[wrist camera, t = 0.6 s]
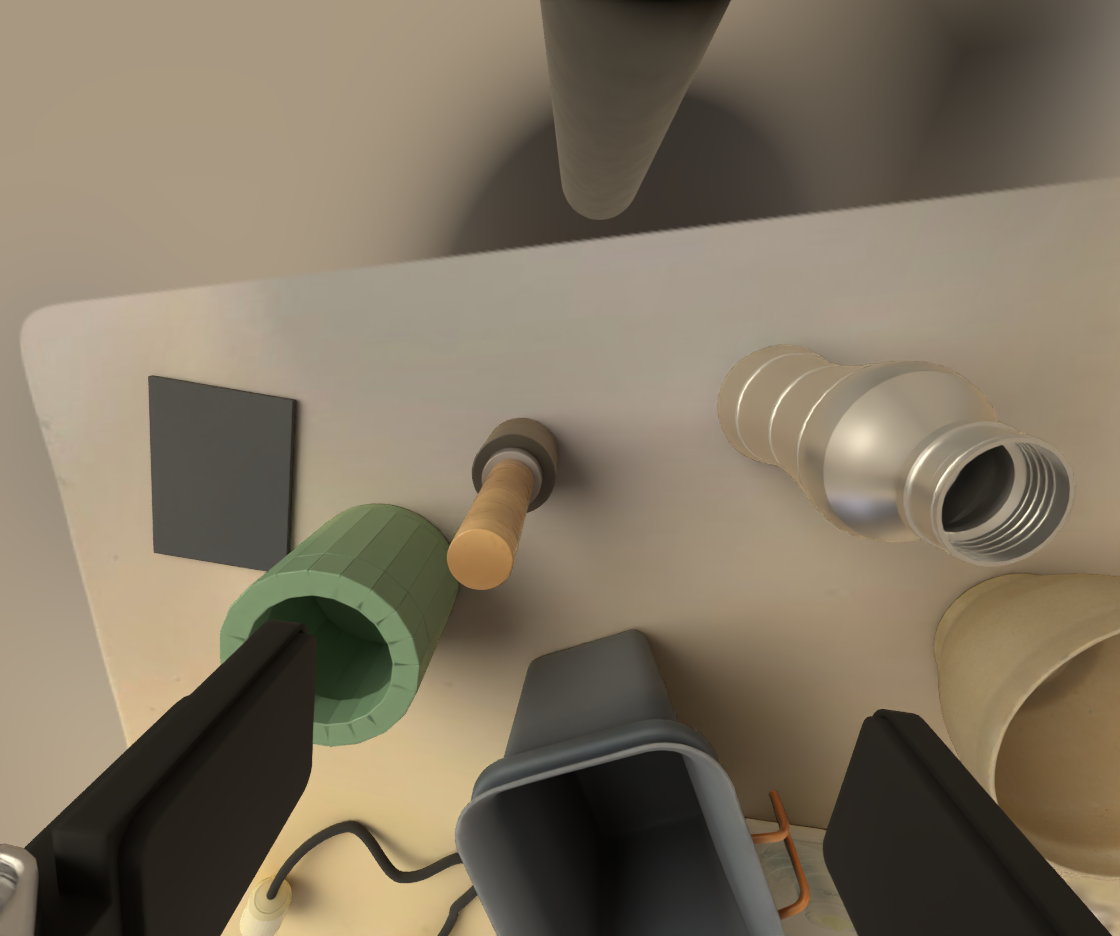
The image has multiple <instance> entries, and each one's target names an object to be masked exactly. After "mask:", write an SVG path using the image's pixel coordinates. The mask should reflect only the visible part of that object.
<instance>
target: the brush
mask: <svg viewBox="0 0 1120 936" xmlns="http://www.w3.org/2000/svg"><path fill="white" fill-rule="evenodd" d="M557 462H558V448H557V444H556V441H555V439H554V437H553V435H552V434H551V432H550V431H549V430H548V429H547V428H546V427H545V426H543V425H542V424H541V423H539V422H537V421H534V420H531V419H527V418H516V419H511V420H508V421H506V422H504V423H502V424H500V425H499V426H498V427H497V428H496V429H495V430H494V431H493V432H492V434H491V435H490V436H489V438H488V439H487V441H486V442H485V443H484V445H483V446H482V448H481V449H480V450H479V452H478V453H477V455H476V457H475V460H474V462H473V467H472V479H473V484H474V487H475V489H476V491H477V493H478V495H477V497H476V499H475V501H474V502H473V504H472V506H471V508H470V510H469V512H468V513H467V515H466V517H465V519H464V521H463V522H462V524H461V526H460V528H459V530H458V532H457V533H456V535H455V537H454V539H453V541H452V542H451V544H450V546H449V549H448V553H447V562H448V566H449V569H450V571H451V573H452V575H453V576H454V577H455V578H456V579H457V580H458V581H459V582H460V583H461V584H463V585H465V586H467V587H469V588H472V589H477V590H487V589H491V588H494V587H497V586H498V585H500V584H502V583H503V582H504V581H505V580H506V579H507V578H508V576H509V575H510V573H511V571H512V568H513V564H514V560H515V556H516V552H517V548H518V544H519V540H520V536H521V532H522V528H523V524H524V521H525V517H526V513H528V512H530V511H533V510H535V509H537V508H538V507H540V506H541V505H542V504H543V503H544V502H545V501H546V500H547V499H548V497H549V496H550V494H551V492H552V490H553V487H554V483H555V477H556V469H557Z"/></svg>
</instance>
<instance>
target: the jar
mask: <svg viewBox="0 0 1120 936" xmlns="http://www.w3.org/2000/svg"><path fill="white" fill-rule="evenodd" d="M448 549H449V544H448V542H447V541H446V539H445V538H444V536H443V535H442V534H441V533H440V532H439V531H438V530H437V529H436V527H434V526H433V525H432V524H431V523H430V522H428V521H427V520H426V519H424V518H423V517H421V516H420V515H418V514H416V513H414V512H412V511H409V510H407V509H404V508H401V507H397V506H393V505H386V504H368V505H361V506H357V507H354V508H351V509H348V510H346V511H344V512H342V513H340V514H339V515H337V516H335V517H334V518H333V519H332V520H330V521H328V522H327V523H325V524H324V525H323V526H322V527H321V528H319V529H318V530H317V531H316V532H315V533H313V534H312V535H311V536H310V537H308V538H307V539H306V540H305V541H304V542H302V543H301V544H300V545H299V546H298V547H296V548H295V549H294V550H293V551H292V552H290V553H289V554H288V555H287V556H286V557H284V558H283V559H282V560H281V561H280V562H278V563H277V564H276V565H275V566H274V567H272V568H271V569H270V570H269V571H268V572H266V573H265V574H264V575H263V576H262V577H260V578H259V579H258V580H257V581H256V582H254V583H253V584H252V585H251V586H250V587H248V588H247V590H246V591H245V592H244V593H243V594H242V595H241V596H240V597H239V598H238V599H237V600H236V601H235V602H234V603H233V604H232V605H231V607H230V608H229V611H228V613H227V616H226V618H225V621H224V623H223V626H222V628H221V631H220V632H221V633H220V659H221V660H220V662H221V664H223V663H224V662H225V661H226V660H227V659H228V658H229V657H230V656H231V655H232V654H233V653H234V652H235V651H236V650H237V649H238V648H239V647H240V646H241V645H242V644H243V643H244V642H245V641H246V640H247V639H248V638H249V637H250V636H251V635H252V634H254V633H255V632H256V631H257V630H258V629H259V628H260V627H261V626H262V625H263V624H264V623H265V622H266V621H268V620H272V619H273V620H280V621H286V622H293V623H300V624H304V625H306V626H307V629H308V634H313V635H315V636H316V639H317V652H316V677H315V701H314V726H313V744H317V745H323V746H330V747H332V746H342V745H351V744H358V743H361V742H364V741H366V740H368V739H371V738H373V737H376V736H378V735H380V734H383V733H384V732H386V731H387V730H388V729H389V728H391V727H392V726H393V725H394V724H395V723H396V722H397V721H398V720H400V719H401V718H402V717H403V716H404V715H405V714H406V712H407V710H408V708H409V706H410V704H411V702H412V701H413V699H414V697H415V695H416V693H417V691H418V688H419V686H420V684H421V681H422V679H423V677H424V674H425V672H426V669H427V667H428V665H429V662H430V660H431V658H432V655H433V653H434V651H435V648H436V646H437V644H438V641H439V639H440V637H441V634H442V632H443V629H444V627H445V625H446V622H447V620H448V618H449V615H450V613H451V611H452V608H453V606H454V602H455V599H456V596H457V591H458V585H459V581H458V580H457V579H456V578H455V577H454V576H453V575H452V573H451V571H450V569H449V566H448V562H447V553H448Z"/></svg>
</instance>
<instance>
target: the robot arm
mask: <svg viewBox="0 0 1120 936" xmlns="http://www.w3.org/2000/svg"><path fill="white" fill-rule="evenodd" d="M316 652H317V639H316V636H315V635H313V634H308V629H307V626H306V625H304V624H300V623H293V622H286V621H280V620H273V619H272V620H268V621H266V622H265V623H264V624H263V625H262V626H261V627H260V628H259V629H258V630H257V631H256V632H255V633H254V634H252V635H251V636H250V637H249V638H248V639H247V640H246V641H245V642H244V643H243V644H242V645H241V646H240V647H239V648H238V649H237V650H236V651H235V652H234V653H233V654H232V655H231V656H230V657H229V658H228V659H227V660H226V661H225V662H224V663H223V664H221V665H220V666H219V667H218V668H217V669H216V670H215V671H214V672H213V673H212V674H211V675H210V676H209V677H208V678H207V679H206V680H205V681H204V682H203V683H202V684H201V685H200V686H199V687H198V688H197V689H196V690H195V691H194V692H193V693H192V694H190V695H189V696H186V697H184V698H182V699H181V700H180V701H178V702H177V703H176V704H174V705H173V706H172V707H171V708H170V709H169V710H168V711H167V712H166V713H165V714H164V715H163V716H162V717H161V718H160V719H159V720H158V721H157V722H156V723H155V724H153V725H152V726H151V727H150V728H149V729H148V730H147V731H146V732H145V733H144V734H143V735H142V736H141V737H140V738H139V739H138V740H137V741H136V742H135V743H134V744H133V745H131V746H130V747H129V748H128V749H127V750H126V751H125V752H124V753H123V754H122V755H121V756H120V757H119V758H118V759H117V760H116V761H115V762H114V763H113V764H112V765H111V766H109V768H107V769H106V770H105V771H104V772H103V773H102V774H101V775H100V776H99V777H98V778H97V779H96V780H95V781H94V782H93V783H92V784H91V785H90V786H89V787H87V788H86V790H85V791H83V792H82V793H81V794H80V795H79V796H78V797H77V798H76V799H75V800H74V801H73V802H72V803H71V804H70V805H69V806H68V807H66V808H65V809H64V810H63V811H62V812H61V813H60V815H58V816H57V817H56V818H55V819H54V820H53V821H52V822H51V823H50V824H49V825H48V826H47V827H46V828H44V830H42V831H41V832H40V833H39V834H38V835H37V836H36V837H35V838H34V839H33V840H32V841H31V842H30V843H29V844H28V845H27V846H26V847H25V848H21V847H17V846H13V845H8V844H0V936H220V935H221V934H222V932H223V930H224V929H225V927H226V925H227V923H228V922H229V920H230V918H231V916H232V915H233V913H234V911H235V910H236V908H237V906H238V904H239V903H240V901H241V899H242V897H243V896H244V894H245V892H246V891H247V889H248V887H249V885H250V884H251V882H252V880H253V878H254V877H255V875H256V873H257V872H258V870H259V868H260V866H261V865H262V863H263V861H264V859H265V858H266V856H267V854H268V853H269V851H270V849H271V847H272V846H273V844H274V842H275V840H276V839H277V837H278V835H279V834H280V832H281V830H282V828H283V827H284V825H285V823H286V821H287V820H288V818H289V816H290V815H291V813H292V811H293V809H294V808H295V806H296V804H297V802H298V801H299V799H300V797H301V796H302V794H303V792H304V790H305V788H306V786H307V783H308V780H309V777H310V773H311V768H312V750H313V726H314V701H315V677H316ZM823 857H824V861H825V864H826V867H827V869H828V872H829V874H830V876H831V878H832V880H833V883H834V885H835V887H836V889H837V891H838V893H839V896H840V898H841V900H842V902H843V904H844V907H845V909H846V911H847V913H848V915H849V917H850V920H851V922H852V924H853V926H854V928H855V930H856V933H857V935H858V936H1112V935H1111V934H1110V933H1109V932H1108V930H1107V929H1106V928H1105V927H1104V926H1103V925H1102V924H1101V922H1100V921H1099V920H1098V919H1097V918H1096V917H1095V916H1094V914H1093V913H1092V912H1091V911H1090V910H1089V909H1088V907H1087V906H1086V905H1085V904H1084V903H1083V902H1082V901H1081V899H1080V898H1079V897H1078V896H1077V895H1076V894H1075V893H1074V891H1073V890H1072V889H1071V888H1070V887H1069V886H1068V885H1067V883H1066V882H1065V881H1064V880H1063V879H1062V878H1061V877H1060V875H1059V874H1058V873H1057V872H1056V871H1055V870H1054V869H1053V867H1052V866H1051V865H1050V864H1049V863H1048V862H1047V861H1046V859H1045V858H1044V857H1043V856H1042V855H1041V854H1040V852H1039V851H1038V850H1037V849H1036V848H1035V847H1034V846H1033V844H1032V843H1031V842H1030V841H1029V840H1028V839H1027V838H1026V836H1025V835H1024V834H1023V833H1022V832H1021V831H1020V830H1019V828H1018V827H1017V826H1016V825H1015V824H1014V823H1013V822H1012V820H1011V819H1010V818H1009V817H1008V816H1007V815H1006V814H1005V812H1004V811H1003V810H1002V809H1001V808H1000V807H999V805H998V804H997V803H996V802H995V801H994V800H993V799H992V797H991V796H990V795H989V794H988V793H987V792H986V791H985V789H984V788H983V787H982V786H981V785H980V784H979V783H978V781H977V780H976V779H975V778H974V777H973V776H972V775H971V773H970V772H969V771H968V770H967V769H966V768H965V767H964V765H963V764H962V763H961V762H960V761H959V760H958V759H957V757H956V756H955V755H954V754H953V753H952V752H951V750H950V749H949V748H948V747H947V746H946V745H945V744H944V742H943V741H942V740H941V739H940V738H939V737H938V736H937V734H936V733H935V732H934V731H933V730H932V729H931V728H930V726H929V725H928V724H927V723H926V722H925V721H924V720H923V719H922V718H921V717H920V716H919V715H916V714H913V713H906V712H900V711H893V710H886V709H880V710H877V711H876V712H875V713H874V715H873V717H872V716H870V717H867V718H866V719H865V720H864V722H863V724H862V727H861V730H860V733H859V736H858V739H857V742H856V745H855V748H854V751H853V754H852V757H851V760H850V763H849V766H848V769H847V772H846V775H845V777H844V780H843V783H842V786H841V789H840V792H839V795H838V798H837V801H836V804H835V807H834V810H833V813H832V816H831V819H830V822H829V825H828V828H827V831H826V834H825V836H824V840H823Z"/></svg>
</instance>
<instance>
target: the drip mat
mask: <svg viewBox="0 0 1120 936" xmlns="http://www.w3.org/2000/svg"><path fill="white" fill-rule="evenodd" d="M148 382H149V414H150V447H151V480H152V513H153V545H154V553H159V554H165V555H171V556H177V557H183V558H189V559H195V560H201V561H207V562H213V563H219V564H226V565H232V566H238V567H244V568H250V569H256V570H262V571H269V570H270V569H271V568H272V567H274V566H275V565H276V564H277V563H278V562H280V561H281V560H282V559H283V558H284V557H286V556H287V555H288V554H289V552H290V527H291V502H292V477H293V452H294V427H295V402H296V400H294V399H288V398H282V397H276V396H270V395H264V394H259V393H253V392H247V391H241V390H235V389H229V388H223V387H217V386H211V385H206V384H200V383H194V382H188V381H182V380H176V379H170V378H164V377H158V376H148Z"/></svg>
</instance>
